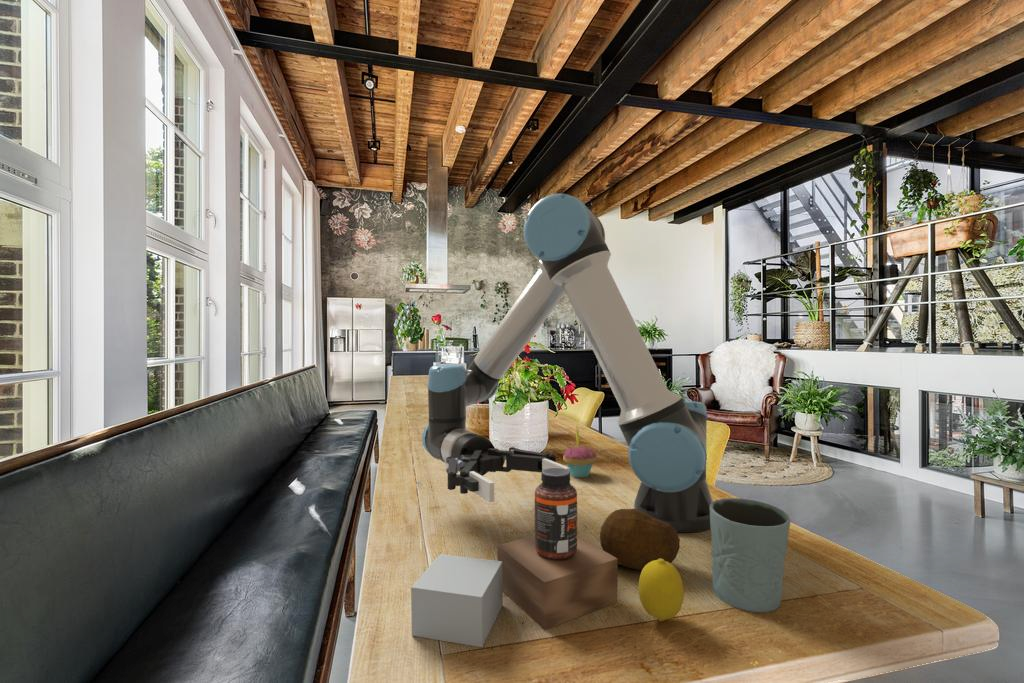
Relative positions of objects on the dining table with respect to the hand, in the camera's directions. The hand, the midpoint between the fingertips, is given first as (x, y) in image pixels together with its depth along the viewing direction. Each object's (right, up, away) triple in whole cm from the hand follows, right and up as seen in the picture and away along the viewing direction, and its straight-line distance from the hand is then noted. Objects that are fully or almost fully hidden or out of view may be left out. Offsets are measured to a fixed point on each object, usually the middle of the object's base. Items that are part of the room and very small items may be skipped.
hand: (531, 484), depth 74 cm
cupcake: (+14, -13, +51) cm, 54 cm away
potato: (+17, -14, +4) cm, 22 cm away
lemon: (+16, -15, -11) cm, 24 cm away
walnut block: (+3, -14, -4) cm, 15 cm away
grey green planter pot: (+30, -14, -5) cm, 33 cm away
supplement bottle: (+3, -8, -4) cm, 10 cm away
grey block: (-10, -14, -10) cm, 20 cm away
